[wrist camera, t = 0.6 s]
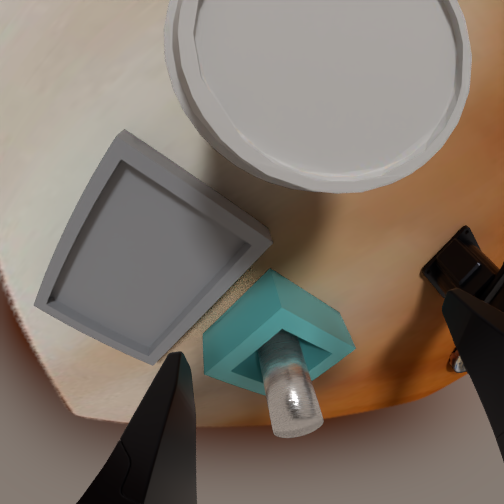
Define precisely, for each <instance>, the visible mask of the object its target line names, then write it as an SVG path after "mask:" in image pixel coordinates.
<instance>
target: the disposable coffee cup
mask: <svg viewBox="0 0 504 504" xmlns="http://www.w3.org/2000/svg"><path fill="white" fill-rule="evenodd" d="M164 47H165V62H166V66H167V69H168V73H169V76H170V80H171V83H172V87H173V90H174V92H175V94H176V96H177V98H178V100H179V102H180V105H181V107H182V109H183V111H184V112H185V114H186V115H187V117H188V118H189V119H190V121H191V122H192V124H193V125H194V127H195V128H196V129H197V131H198V132H199V134H200V135H201V136H202V137H203V138H204V139H205V140H206V141H207V142H208V143H209V144H210V145H211V146H212V147H213V148H214V149H215V150H216V151H217V152H219V153H220V154H221V155H222V156H224V157H225V158H226V159H228V160H229V161H230V162H231V163H233V164H234V165H235V166H237V167H239V168H241V169H243V170H244V171H246V172H248V173H250V174H252V175H253V176H255V177H258V178H260V179H262V180H265V181H267V182H269V183H273V184H276V185H279V186H283V187H286V188H289V189H296V190H304V191H311V192H328V193H353V192H364V191H368V190H371V189H375V188H378V187H382V186H385V185H389V184H392V183H394V182H396V181H398V180H400V179H402V178H404V177H406V176H408V175H410V174H411V173H413V172H414V171H416V170H417V169H418V168H420V167H421V166H423V165H424V164H425V163H426V162H427V161H428V160H429V159H430V158H431V157H432V156H434V155H435V154H436V153H437V152H438V151H439V150H440V149H441V148H442V146H443V145H444V143H445V142H446V140H447V139H448V137H449V136H450V134H451V133H452V131H453V130H454V128H455V127H456V125H457V124H458V122H459V119H460V116H461V113H462V111H463V108H464V105H465V102H466V99H467V96H468V93H469V87H470V76H471V61H472V53H471V47H470V42H469V36H468V31H467V26H466V21H465V18H464V15H463V13H462V11H461V8H460V6H459V4H458V2H457V0H170V1H169V5H168V10H167V15H166V21H165V27H164Z"/></svg>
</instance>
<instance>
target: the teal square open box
mask: <svg viewBox="0 0 504 504" xmlns="http://www.w3.org/2000/svg"><path fill="white" fill-rule="evenodd" d="M281 329H284V330H286V331H288V332H290V333H292V334H294V335H296V336H298V339H299V343H300V346H301V349H302V352H303V355H304V359H305V362H306V365H307V368H308V371H309V375H310V378H311V381H313V380H314V379H315V378H317V377H318V376H320V375H321V374H323V373H324V372H325V371H327V370H328V369H329V368H331V367H332V366H333V365H335V364H336V363H338V362H339V361H340V360H342V359H343V358H344V357H345V356H347V355H348V354H349V353H351V352H352V351H353V350H355V349H356V347H355V345H354V343H353V341H352V338H351V336H350V334H349V332H348V330H347V328H346V326H345V323H344V321H343V319H342V317H341V315H340V313H339V312H338V311H336V310H335V309H333V308H331V307H330V306H328V305H327V304H325V303H324V302H322V301H321V300H319V299H317V298H316V297H314V296H313V295H311V294H310V293H308V292H307V291H305V290H303V289H302V288H300V287H299V286H297V285H296V284H294V283H293V282H291V281H289V280H288V279H286V278H285V277H283V276H282V275H280V274H279V273H277V272H276V271H274V270H272V269H271V268H270V269H269V270H268V271H267V272H266V273H265V274H264V275H263V276H261V277H260V278H259V279H258V280H257V281H256V282H255V283H254V284H253V285H252V286H251V287H250V288H249V289H248V290H247V291H246V292H245V293H244V294H243V295H242V296H241V297H240V298H239V299H238V300H237V301H236V302H235V303H234V304H233V305H232V306H231V307H230V308H229V309H228V310H227V311H226V312H225V313H224V314H223V315H222V316H221V317H220V318H219V319H218V320H217V321H216V322H215V323H214V324H212V325H211V326H210V327H209V328H208V329H207V330H206V331H205V332H204V333H203V359H204V374H205V375H207V376H210V377H213V378H215V379H218V380H221V381H224V382H226V383H229V384H232V385H235V386H238V387H241V388H244V389H247V390H250V391H253V392H256V393H259V394H262V395H265V396H266V393H265V388H264V383H263V378H262V372H261V367H260V362H259V357H258V352H257V349H259V348H260V347H261V346H262V345H263V344H265V343H266V342H267V341H268V340H269V339H271V338H272V337H273V336H274V335H275V334H277V333H278V332H279V331H280V330H281Z"/></svg>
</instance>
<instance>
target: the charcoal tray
mask: <svg viewBox="0 0 504 504" xmlns="http://www.w3.org/2000/svg"><path fill="white" fill-rule="evenodd" d="M272 244H273V241H272V238H271V235H270V232H269V230H268V228H267V227H266V226H264V225H263V224H261V223H260V222H259V221H257V220H256V219H254V218H253V217H252V216H250V215H249V214H247V213H246V212H245V211H243V210H242V209H240V208H239V207H237V206H236V205H235V204H233V203H232V202H230V201H229V200H228V199H226V198H225V197H223V196H222V195H220V194H219V193H218V192H216V191H215V190H213V189H212V188H210V187H209V186H207V185H206V184H205V183H203V182H202V181H200V180H199V179H197V178H196V177H194V176H193V175H192V174H190V173H189V172H187V171H186V170H184V169H183V168H181V167H180V166H178V165H177V164H176V163H174V162H173V161H171V160H170V159H168V158H167V157H165V156H164V155H162V154H161V153H159V152H158V151H156V150H155V149H153V148H152V147H150V146H149V145H147V144H146V143H144V142H143V141H141V140H140V139H139V138H137V137H136V136H134V135H132V134H131V133H129V132H128V131H126V130H125V129H124V130H123V131H122V132H121V133H119V134H118V135H117V136H116V137H115V139H114V140H113V142H112V144H111V145H110V147H109V148H108V150H107V152H106V153H105V155H104V157H103V158H102V160H101V162H100V163H99V165H98V167H97V169H96V170H95V172H94V174H93V176H92V177H91V179H90V181H89V183H88V185H87V186H86V188H85V190H84V192H83V194H82V196H81V198H80V200H79V201H78V203H77V205H76V207H75V209H74V211H73V213H72V215H71V217H70V219H69V221H68V223H67V226H66V228H65V230H64V232H63V234H62V236H61V238H60V241H59V243H58V245H57V247H56V250H55V252H54V254H53V257H52V259H51V261H50V264H49V266H48V269H47V271H46V273H45V276H44V279H43V281H42V284H41V286H40V289H39V292H38V294H37V297H36V300H35V303H34V306H35V307H37V308H39V309H40V310H42V311H44V312H46V313H47V314H49V315H51V316H53V317H54V318H56V319H58V320H60V321H62V322H63V323H65V324H67V325H69V326H71V327H73V328H75V329H76V330H78V331H80V332H82V333H84V334H86V335H88V336H90V337H92V338H94V339H96V340H98V341H100V342H102V343H104V344H106V345H108V346H110V347H112V348H115V349H117V350H119V351H121V352H123V353H125V354H128V355H130V356H132V357H134V358H136V359H139V360H141V361H143V362H146V363H148V364H150V365H154V364H155V363H156V362H157V361H158V360H159V359H160V358H161V357H162V356H163V355H164V354H165V353H166V352H167V351H168V350H169V349H170V348H171V347H172V346H173V345H174V344H175V343H176V342H177V341H178V340H179V339H180V338H181V337H182V336H183V335H184V334H185V333H186V332H187V331H188V330H189V329H190V328H191V327H192V326H193V325H194V324H195V323H196V322H197V321H198V319H199V318H200V317H201V316H202V315H203V314H204V313H205V312H206V311H207V310H208V309H209V308H210V307H211V306H212V305H213V304H214V303H215V302H216V301H217V300H218V299H219V298H220V297H221V296H222V295H223V294H224V293H225V292H226V291H227V290H228V289H229V288H230V287H231V286H232V285H233V284H234V283H235V282H236V281H237V280H238V279H239V278H240V277H241V276H242V275H243V273H244V272H245V271H246V270H247V269H248V268H249V267H250V266H251V265H252V264H253V263H254V262H255V261H256V260H257V259H258V258H259V257H260V256H261V255H262V254H263V253H264V252H265V251H266V250H267V249H268V248H269V247H270V246H271V245H272Z"/></svg>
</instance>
